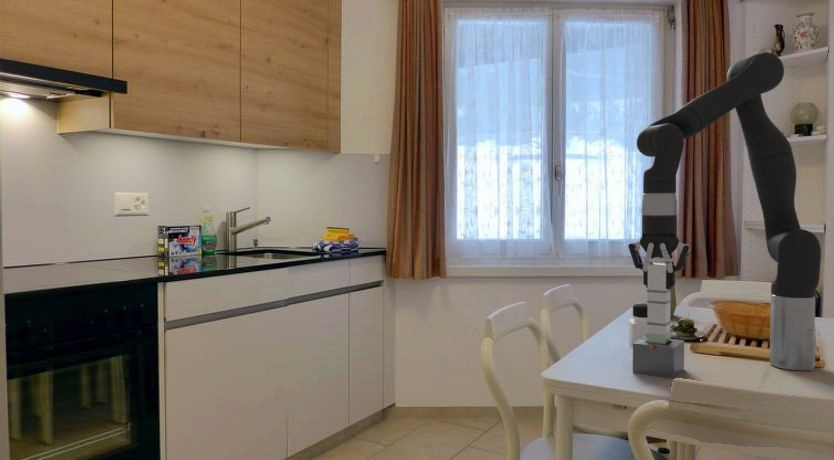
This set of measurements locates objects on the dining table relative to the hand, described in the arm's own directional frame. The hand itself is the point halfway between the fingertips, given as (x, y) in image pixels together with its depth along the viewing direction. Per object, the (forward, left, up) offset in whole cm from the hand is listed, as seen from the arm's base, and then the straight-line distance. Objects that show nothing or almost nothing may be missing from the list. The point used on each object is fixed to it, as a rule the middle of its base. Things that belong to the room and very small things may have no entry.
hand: (659, 287), depth 148 cm
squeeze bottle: (+19, -75, -21) cm, 80 cm away
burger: (+5, -44, -21) cm, 49 cm away
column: (0, 0, -13) cm, 13 cm away
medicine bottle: (+11, -26, -21) cm, 35 cm away
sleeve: (0, 0, -21) cm, 21 cm away
